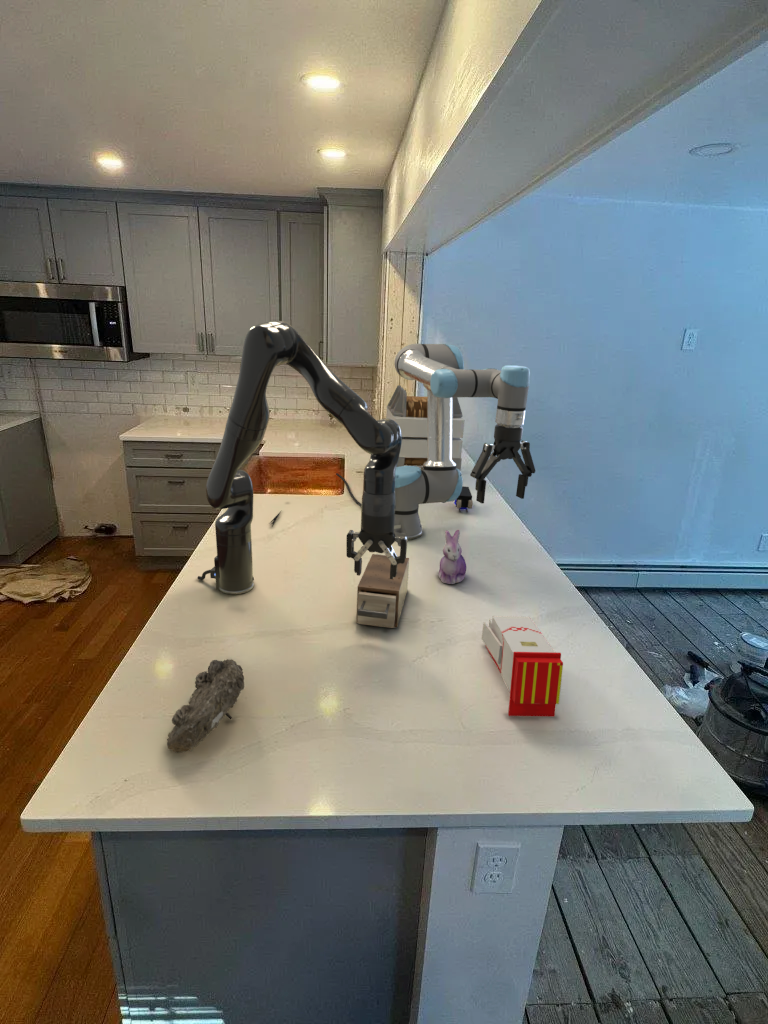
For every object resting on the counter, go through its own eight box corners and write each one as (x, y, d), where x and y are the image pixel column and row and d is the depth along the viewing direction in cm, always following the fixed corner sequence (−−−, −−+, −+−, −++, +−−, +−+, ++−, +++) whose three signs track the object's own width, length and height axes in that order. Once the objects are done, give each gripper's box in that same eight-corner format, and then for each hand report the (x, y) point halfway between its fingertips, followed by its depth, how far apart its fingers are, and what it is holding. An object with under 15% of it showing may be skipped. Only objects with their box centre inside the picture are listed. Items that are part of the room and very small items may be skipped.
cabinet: (397, 627, 141) (399, 591, 138) (356, 622, 143) (357, 586, 139) (407, 591, 160) (409, 557, 156) (371, 586, 161) (372, 553, 158)
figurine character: (472, 517, 222) (467, 501, 236) (475, 500, 219) (469, 484, 233) (455, 517, 222) (451, 500, 236) (457, 499, 219) (452, 484, 232)
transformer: (382, 463, 289) (386, 382, 275) (445, 464, 293) (451, 384, 279) (390, 482, 257) (394, 392, 243) (460, 483, 261) (468, 394, 247)
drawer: (390, 641, 134) (391, 610, 131) (352, 636, 135) (352, 605, 132) (403, 593, 156) (405, 565, 154) (371, 589, 158) (372, 562, 155)
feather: (288, 505, 226) (290, 501, 226) (271, 529, 199) (273, 524, 199) (284, 503, 226) (287, 499, 225) (266, 526, 199) (269, 522, 199)
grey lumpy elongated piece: (192, 660, 117) (244, 628, 112) (224, 691, 120) (276, 661, 115) (142, 746, 98) (202, 712, 93) (182, 779, 101) (242, 748, 96)
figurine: (448, 588, 162) (452, 539, 157) (429, 573, 171) (432, 527, 166) (475, 582, 166) (480, 534, 161) (455, 568, 175) (459, 522, 170)
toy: (528, 601, 136) (572, 659, 107) (523, 653, 139) (565, 722, 110) (478, 600, 136) (508, 657, 107) (474, 652, 139) (503, 722, 109)
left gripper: (343, 511, 124) (341, 579, 129) (408, 518, 122) (403, 586, 127) (350, 501, 131) (348, 566, 136) (412, 507, 129) (408, 572, 134)
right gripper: (477, 430, 145) (470, 508, 152) (555, 425, 155) (544, 499, 162) (462, 424, 151) (455, 499, 158) (537, 420, 161) (527, 491, 168)
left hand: (375, 575), depth 132 cm, fingers open, 7 cm apart
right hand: (500, 499), depth 160 cm, fingers open, 13 cm apart
